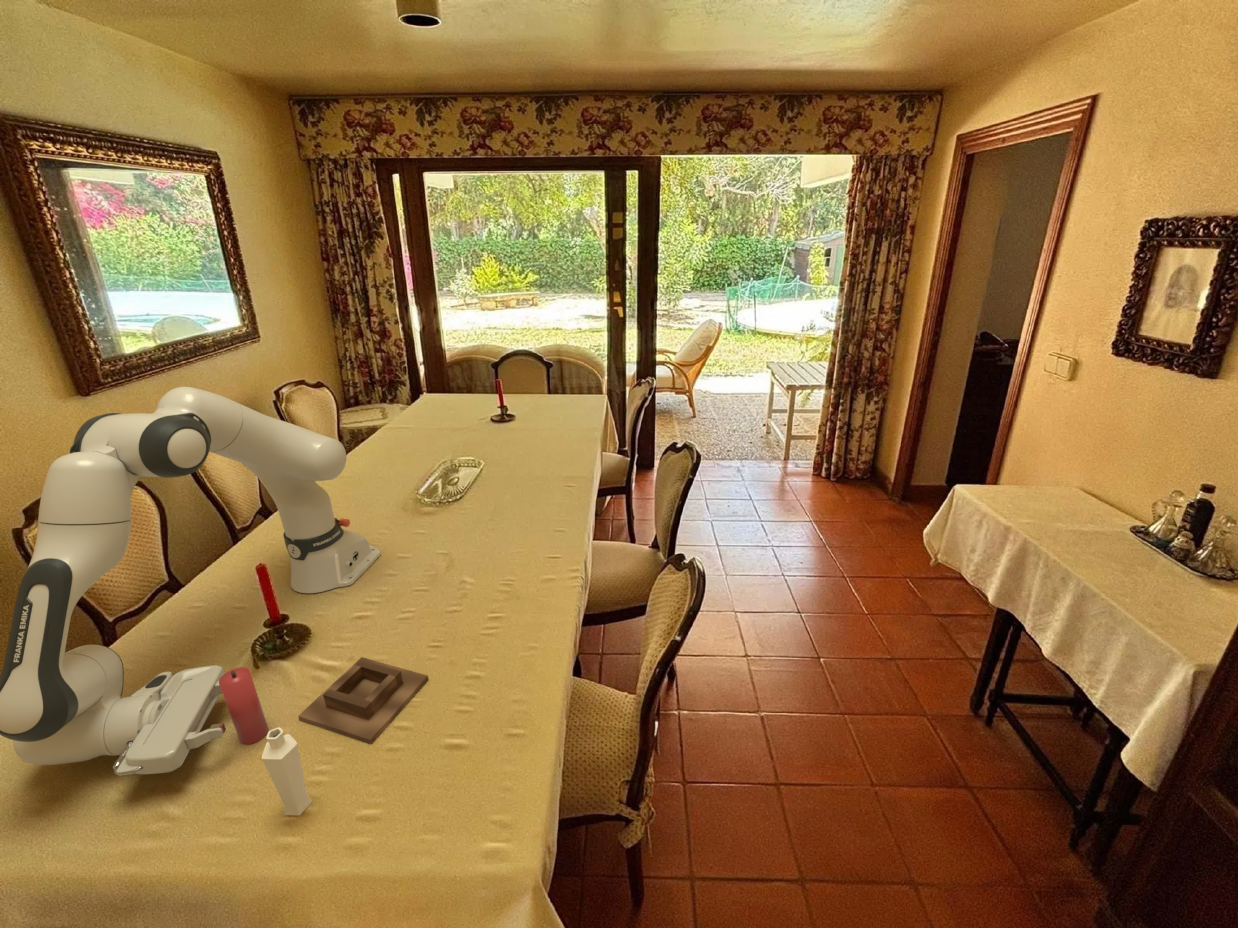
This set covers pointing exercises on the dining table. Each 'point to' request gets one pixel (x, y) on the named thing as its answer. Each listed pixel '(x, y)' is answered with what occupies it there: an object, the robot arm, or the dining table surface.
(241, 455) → the robot arm
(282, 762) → the perfume bottle
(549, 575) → the dining table surface
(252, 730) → the burgundy candle
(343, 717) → the walnut stand
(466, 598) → the dining table surface
